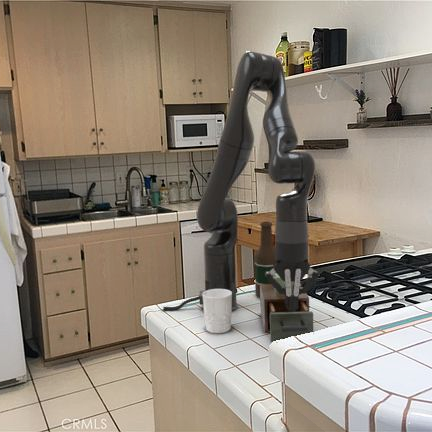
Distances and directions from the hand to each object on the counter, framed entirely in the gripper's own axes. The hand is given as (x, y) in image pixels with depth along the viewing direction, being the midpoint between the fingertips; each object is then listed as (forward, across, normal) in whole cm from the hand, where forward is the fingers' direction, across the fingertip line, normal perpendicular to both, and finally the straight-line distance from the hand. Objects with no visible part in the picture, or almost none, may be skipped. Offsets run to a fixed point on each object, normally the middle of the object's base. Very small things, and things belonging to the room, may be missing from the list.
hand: (291, 310), depth 119 cm
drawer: (+9, 0, -6) cm, 11 cm away
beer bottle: (+10, +2, -42) cm, 43 cm away
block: (+1, 0, -18) cm, 18 cm away
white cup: (+10, +18, -15) cm, 25 cm away
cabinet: (+10, 0, -18) cm, 20 cm away
